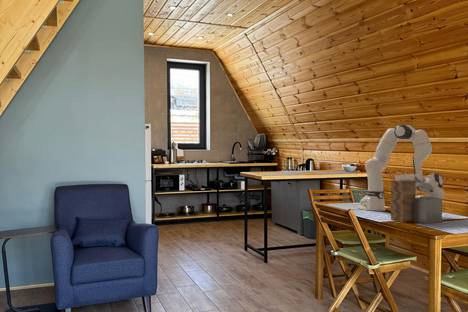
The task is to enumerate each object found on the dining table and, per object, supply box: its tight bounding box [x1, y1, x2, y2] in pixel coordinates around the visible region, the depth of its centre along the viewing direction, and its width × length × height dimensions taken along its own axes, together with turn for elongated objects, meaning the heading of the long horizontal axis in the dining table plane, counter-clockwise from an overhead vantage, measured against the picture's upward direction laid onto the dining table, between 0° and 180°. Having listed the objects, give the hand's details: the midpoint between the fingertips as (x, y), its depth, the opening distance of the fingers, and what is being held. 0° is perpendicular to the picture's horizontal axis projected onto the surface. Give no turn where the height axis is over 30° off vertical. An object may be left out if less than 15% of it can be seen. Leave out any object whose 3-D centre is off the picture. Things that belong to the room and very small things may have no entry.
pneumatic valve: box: [416, 194, 427, 198], centre depth 327 cm, size 6×12×12 cm, turn 9°
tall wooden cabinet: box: [389, 179, 417, 223], centre depth 286 cm, size 11×12×26 cm
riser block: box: [412, 196, 443, 225], centre depth 279 cm, size 10×14×15 cm
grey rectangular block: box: [394, 173, 423, 181], centre depth 287 cm, size 4×20×4 cm, turn 116°
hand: (413, 176), depth 289 cm, fingers closed on grey rectangular block, 3 cm apart
